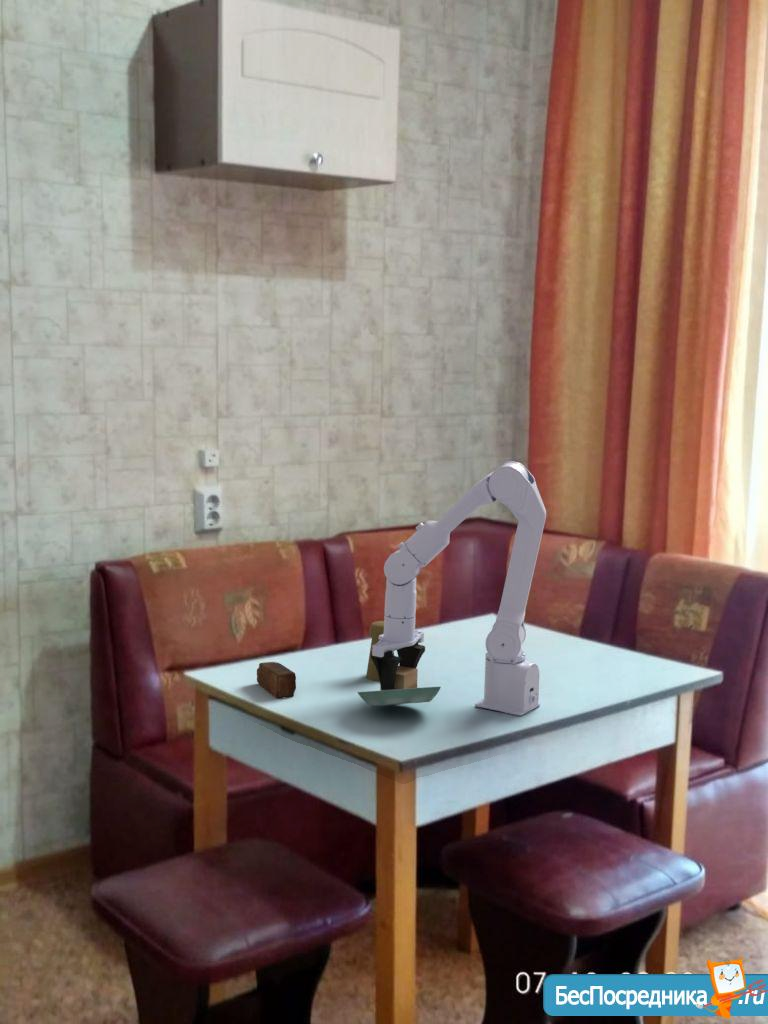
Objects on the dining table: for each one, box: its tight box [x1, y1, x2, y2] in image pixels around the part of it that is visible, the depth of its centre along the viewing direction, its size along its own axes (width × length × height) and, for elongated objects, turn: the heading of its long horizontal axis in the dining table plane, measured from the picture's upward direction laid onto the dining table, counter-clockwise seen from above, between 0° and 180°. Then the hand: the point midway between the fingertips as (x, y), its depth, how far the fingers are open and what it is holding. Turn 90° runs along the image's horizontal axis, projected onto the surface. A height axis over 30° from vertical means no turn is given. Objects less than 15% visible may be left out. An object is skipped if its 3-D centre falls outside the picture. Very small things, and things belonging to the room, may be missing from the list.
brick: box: [256, 661, 297, 699], centre depth 221 cm, size 11×4×5 cm, turn 26°
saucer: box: [357, 686, 442, 707], centre depth 208 cm, size 15×15×3 cm
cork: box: [365, 620, 395, 682], centre depth 231 cm, size 6×6×11 cm
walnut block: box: [379, 665, 418, 691], centre depth 219 cm, size 5×5×5 cm
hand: (396, 686), depth 219 cm, fingers open, 6 cm apart
